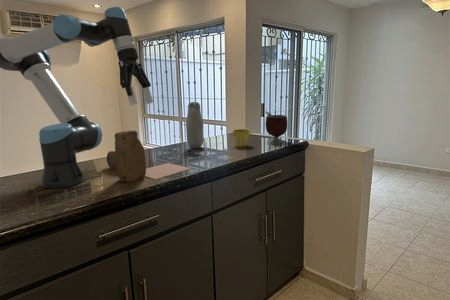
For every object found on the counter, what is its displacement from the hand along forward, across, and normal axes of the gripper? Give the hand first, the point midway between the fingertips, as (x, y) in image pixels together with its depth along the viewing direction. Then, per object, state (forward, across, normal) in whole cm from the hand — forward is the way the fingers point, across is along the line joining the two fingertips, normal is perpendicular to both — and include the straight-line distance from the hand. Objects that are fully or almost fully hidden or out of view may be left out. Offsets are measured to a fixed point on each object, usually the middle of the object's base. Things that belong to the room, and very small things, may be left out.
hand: (142, 103), depth 119 cm
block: (+28, -1, +14) cm, 31 cm away
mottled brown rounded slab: (+24, +13, +28) cm, 39 cm away
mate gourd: (+40, +86, -40) cm, 103 cm away
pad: (+30, +12, +6) cm, 33 cm away
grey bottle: (+29, +63, +6) cm, 70 cm away
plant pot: (+35, +72, -20) cm, 83 cm away
